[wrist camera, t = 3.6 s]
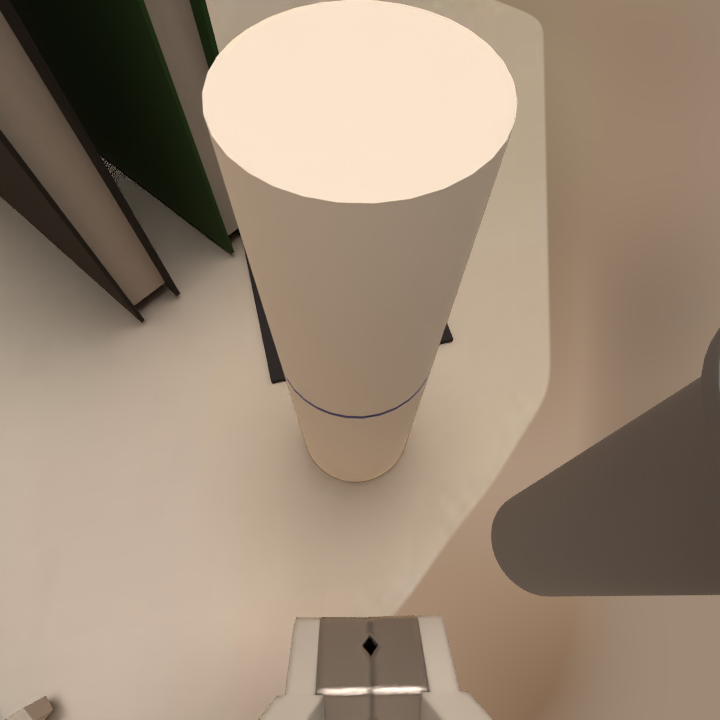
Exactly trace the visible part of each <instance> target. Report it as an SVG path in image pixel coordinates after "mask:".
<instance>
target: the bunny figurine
mask: <svg viewBox="0 0 720 720" xmlns="http://www.w3.org/2000/svg"><path fill="white" fill-rule="evenodd" d="M52 710H53V708H52V706H51V705H50V703H49V701H48V699H47V697H46V696H45V697H43V698H41V699H39V700H37V701H35V702H34V703H32V704H30V705H28V706H26V707H24V708H23V709H21V710H20V711H18V712H17V713H15V714H14V715H12V716H11V717H9V718H8V719H6V720H45V719H46V717H47V716H48V715H49V714H50V712H51V711H52Z"/></svg>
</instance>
